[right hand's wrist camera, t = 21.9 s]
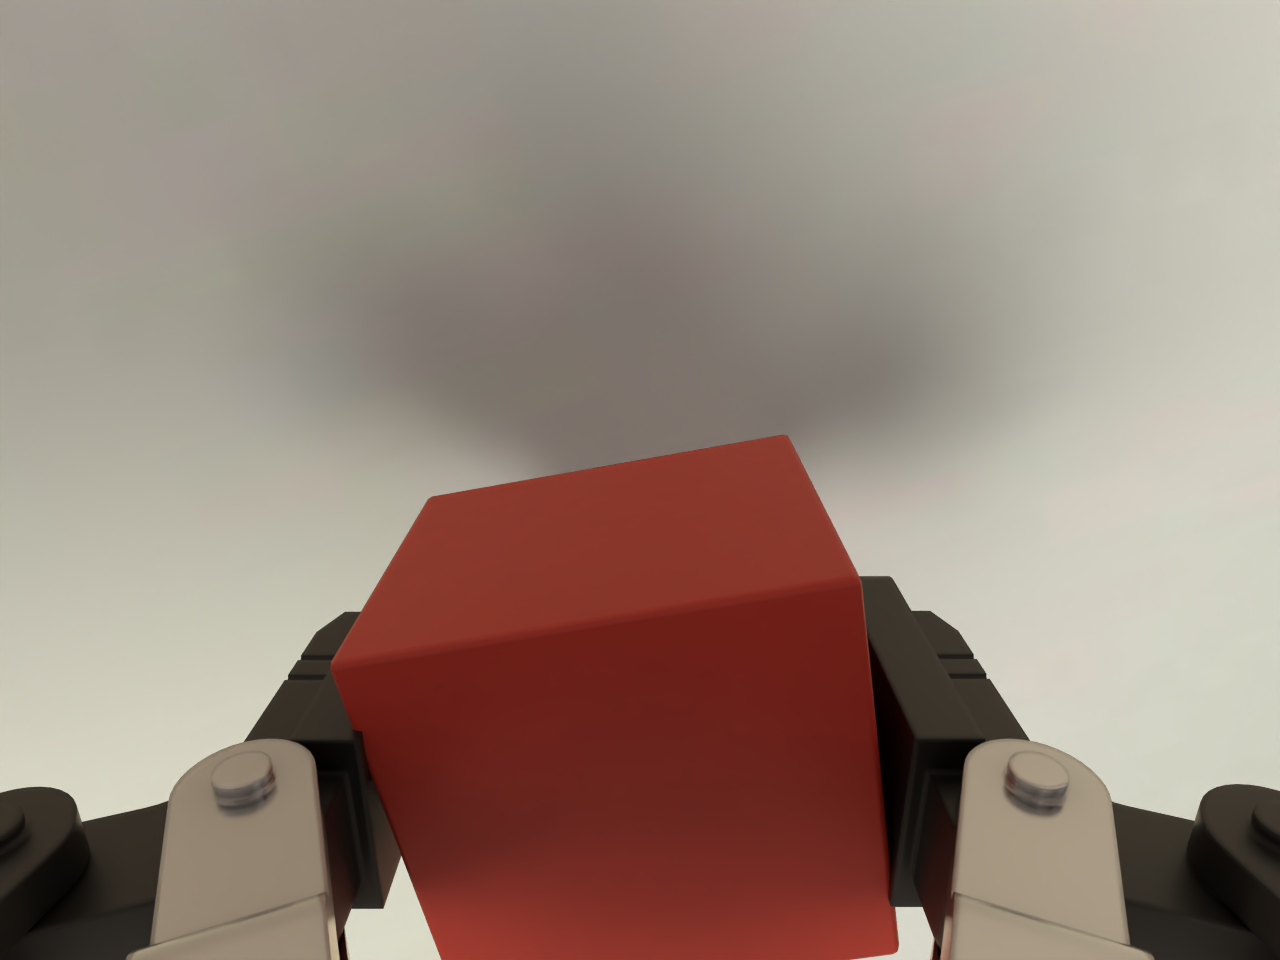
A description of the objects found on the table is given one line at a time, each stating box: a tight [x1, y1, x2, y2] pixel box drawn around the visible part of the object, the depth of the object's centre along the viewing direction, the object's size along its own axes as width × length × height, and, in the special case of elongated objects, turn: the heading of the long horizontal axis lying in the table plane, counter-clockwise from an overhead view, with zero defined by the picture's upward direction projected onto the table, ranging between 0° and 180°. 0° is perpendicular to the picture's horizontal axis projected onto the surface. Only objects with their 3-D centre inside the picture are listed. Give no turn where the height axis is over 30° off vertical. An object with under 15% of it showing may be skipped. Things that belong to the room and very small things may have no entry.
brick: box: [331, 435, 899, 960], centre depth 11 cm, size 5×5×4 cm
